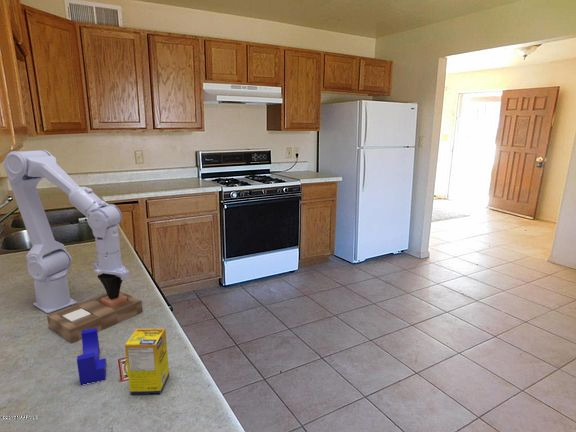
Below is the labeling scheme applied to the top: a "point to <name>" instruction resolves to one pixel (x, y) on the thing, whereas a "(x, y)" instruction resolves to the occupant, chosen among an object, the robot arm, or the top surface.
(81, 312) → the white block
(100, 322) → the brown block tray
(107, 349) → the top surface
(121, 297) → the terracotta button
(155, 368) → the supplement box
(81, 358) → the blue notched block
